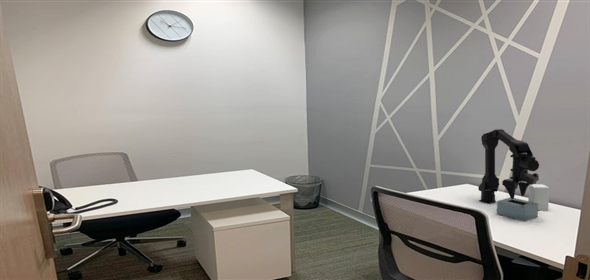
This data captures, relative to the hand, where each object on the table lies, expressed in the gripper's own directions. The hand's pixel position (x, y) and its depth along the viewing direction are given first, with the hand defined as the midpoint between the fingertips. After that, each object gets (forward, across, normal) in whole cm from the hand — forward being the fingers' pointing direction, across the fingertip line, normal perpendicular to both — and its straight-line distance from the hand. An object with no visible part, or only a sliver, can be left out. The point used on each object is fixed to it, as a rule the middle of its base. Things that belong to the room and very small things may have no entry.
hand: (517, 197), depth 193 cm
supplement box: (+10, +20, 0) cm, 22 cm away
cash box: (+10, 0, 0) cm, 10 cm away
